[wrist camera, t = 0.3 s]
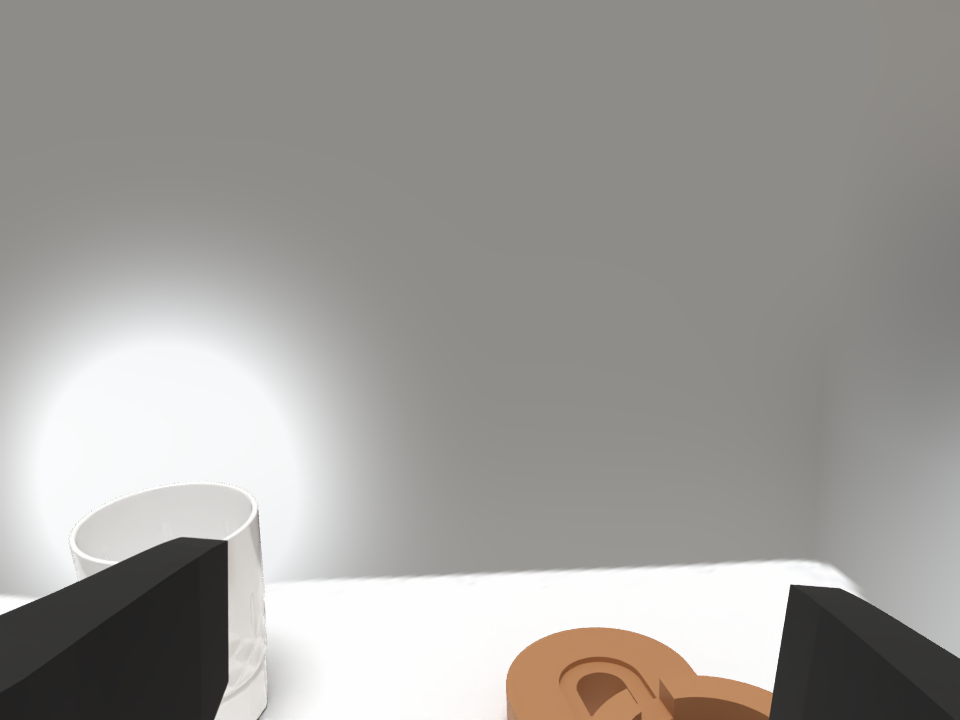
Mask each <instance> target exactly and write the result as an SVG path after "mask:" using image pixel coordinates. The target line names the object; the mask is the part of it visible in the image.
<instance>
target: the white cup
mask: <svg viewBox="0 0 960 720" xmlns="http://www.w3.org/2000/svg"><path fill="white" fill-rule="evenodd" d="M179 537H190V538H202V539H215V540H228V643H229V682H228V685H227V687H226V690H225V693H224V695H223V698H222V701H221V703H220V706H219V709H218V711H217V714H216V717H215V719H214V720H257V719H258V717H259V716H260V715H261V713H262V712H263V710H264V709H265V708H266V706H267V689H268V681H267V669H266V657H265V651H266V648H267V635H266V614H265V603H264V579H263V567H262V554H261V541H260V529H259V515H258V504H257V501H256V499H255V498H254V496H253V495H252V494H250V493H249V492H248V491H246V490H244V489H242V488H240V487H237V486H233V485H230V484H225V483H217V482H183V483H174V484H167V485H161V486H157V487H152V488H147V489H143V490H140V491H136V492H133V493H130V494H127V495H124V496H121V497H119V498H116V499H114V500H112V501H110V502H107V503H105V504H103V505H101V506H100V507H98V508H96V509H94V510H93V511H91V512H90V513H88V514H87V515H86V516H84V517H83V518H82V519H81V520H80V521H79V522H78V523H77V524H76V525H75V526H74V528H73V529H72V531H71V533H70V536H69V545H70V549H71V553H72V557H73V561H74V565H75V568H76V573H77V577H78V581H80V580H83V579H85V578H87V577H89V576H91V575H93V574H96V573H98V572H100V571H102V570H104V569H106V568H108V567H111V566H113V565H115V564H117V563H119V562H121V561H123V560H126V559H128V558H130V557H132V556H134V555H136V554H139V553H141V552H143V551H145V550H148V549H150V548H152V547H155V546H157V545H159V544H162V543H164V542H167V541H170V540H173V539H176V538H179Z"/></svg>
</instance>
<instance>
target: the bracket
mask: <svg viewBox="0 0 960 720" xmlns="http://www.w3.org/2000/svg"><path fill="white" fill-rule="evenodd" d="M506 695H507V720H769V715H770V709H771V703H772V696H773V693H771V692H769V691H767V690H764V689H761V688H759V687H756V686H753V685H750V684H746V683H743V682H739V681H735V680H730V679H725V678H719V677H710V676H697V675H696V673H695V672H694V671H693V670H692V668H691V667H690V666H689V664H688V663H687V662H686V661H685V660H684V659H683V658H682V657H681V656H680V655H679V654H678V653H676V652H675V651H674V650H672V649H671V648H669V647H668V646H666V645H664V644H662V643H660V642H659V641H657V640H654V639H652V638H650V637H647V636H644V635H641V634H638V633H634V632H630V631H626V630H620V629H613V628H579V629H572V630H566V631H562V632H558V633H555V634H552V635H549V636H547V637H544V638H542V639H540V640H538V641H536V642H534V643H533V644H531V645H530V646H528V647H527V648H526V649H524V650H523V651H522V652H521V653H520V654H519V655H518V656H517V657H516V659H515V660H514V661H513V663H512V665H511V666H510V668H509V671H508V674H507V679H506ZM591 716H593V717H592V718H591Z"/></svg>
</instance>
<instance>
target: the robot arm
mask: <svg viewBox="0 0 960 720" xmlns="http://www.w3.org/2000/svg"><path fill="white" fill-rule="evenodd" d="M228 682H229V643H228V540H215V539H202V538H190V537H179V538H176V539H173V540H170V541H167V542H164V543H162V544H159V545H157V546H155V547H152V548H150V549H148V550H145V551H143V552H141V553H139V554H136V555H134V556H132V557H130V558H128V559H126V560H123V561H121V562H119V563H117V564H115V565H113V566H111V567H108V568H106V569H104V570H102V571H100V572H98V573H96V574H93V575H91V576H89V577H87V578H85V579H83V580H80V581H78V582H76V583H74V584H72V585H70V586H68V587H65V588H63V589H61V590H59V591H57V592H55V593H52V594H50V595H47V596H45V597H43V598H40V599H38V600H35V601H33V602H31V603H28V604H26V605H24V606H21V607H19V608H16V609H14V610H12V611H9V612H7V613H5V614H2V615H0V720H214V719H215V717H216V714H217V711H218V709H219V706H220V703H221V701H222V698H223V695H224V693H225V690H226V687H227V685H228ZM769 720H960V658H958V657H956V656H955V655H953V654H951V653H950V652H948V651H947V650H945V649H943V648H942V647H940V646H938V645H937V644H935V643H933V642H932V641H930V640H929V639H927V638H926V637H924V636H922V635H920V634H919V633H917V632H916V631H914V630H913V629H911V628H909V627H908V626H906V625H904V624H903V623H901V622H900V621H898V620H896V619H895V618H893V617H892V616H890V615H888V614H887V613H885V612H883V611H881V610H880V609H878V608H876V607H875V606H873V605H871V604H870V603H868V602H866V601H864V600H862V599H861V598H859V597H857V596H855V595H853V594H851V593H849V592H846V591H844V590H842V589H840V588H828V587H815V586H803V585H790V591H789V597H788V603H787V609H786V616H785V622H784V628H783V634H782V640H781V647H780V653H779V659H778V665H777V672H776V678H775V684H774V690H773V696H772V703H771V709H770V715H769Z"/></svg>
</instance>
